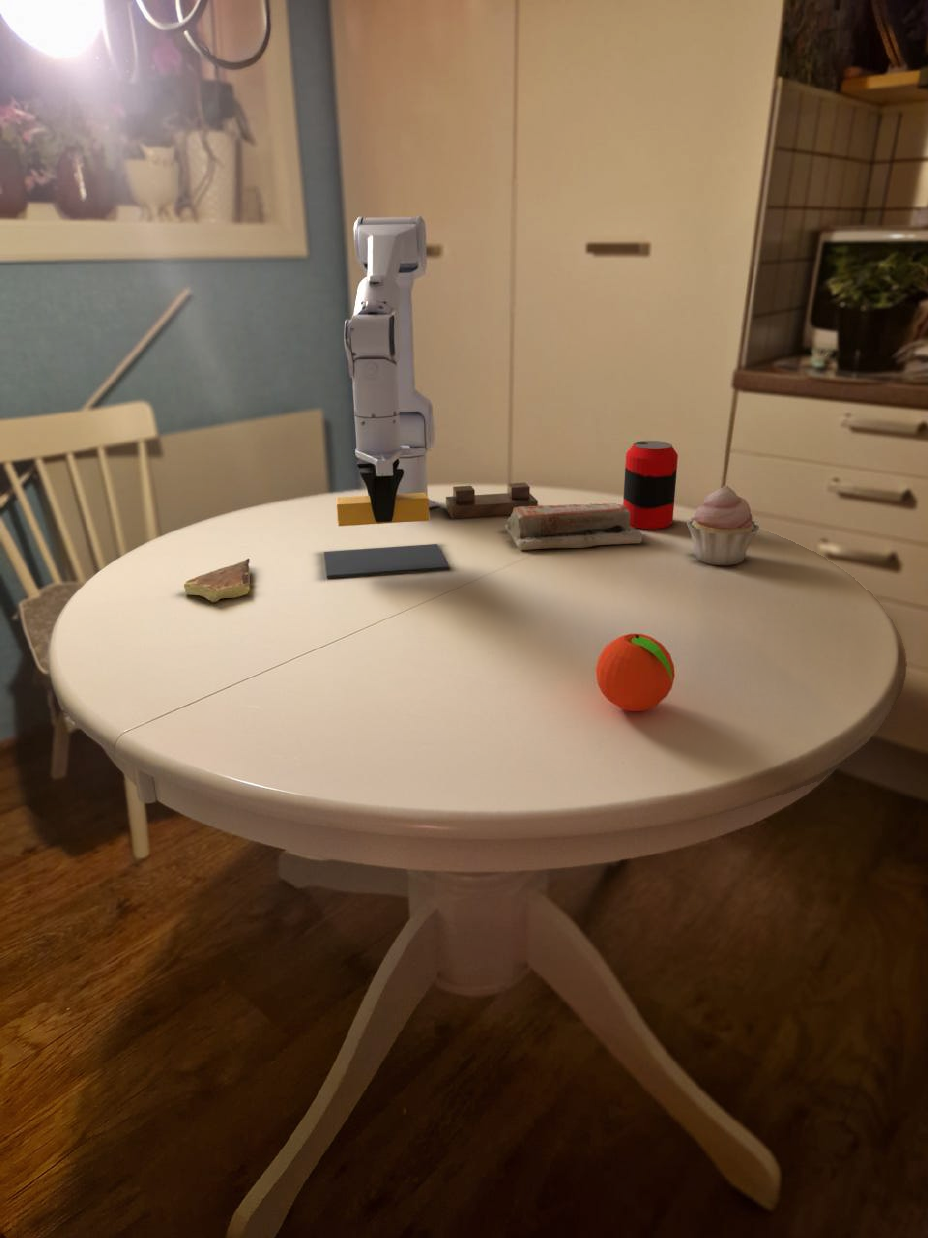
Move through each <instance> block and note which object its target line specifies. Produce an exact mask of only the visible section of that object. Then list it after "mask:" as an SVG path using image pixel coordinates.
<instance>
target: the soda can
mask: <svg viewBox="0 0 928 1238" xmlns="http://www.w3.org/2000/svg"><path fill="white" fill-rule="evenodd" d="M678 458H679V454H678V453H677V451H676V449H675V448H674V447H673V445H672V444H671V443H669V442H666V441H657V440H643V441H637V442H636V441H635V442H634V443H632V446H630V448H629V449H628V450H627V451H626V453H625V463H624V465H625V466H624V483H623V484H624V485H623V499H622V505H625V506H626V508H627V510H628V511H629V512H630V523H629V525H631V526H632V527H633V528H635V529H637V530H639V529H640V530H661V529H665V528H668V527H670V526H671V525H672V524H673V522H674V521H673V520H674V510H675V509H674V508H675V496H676V485H677V483H676V482H677V471H678V460H679V459H678Z"/></svg>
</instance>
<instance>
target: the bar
mask: <svg viewBox="0 0 928 1238" xmlns="http://www.w3.org/2000/svg"><path fill="white" fill-rule="evenodd" d="M429 500H430V499H429V496H428V497H427V495H426V493H410V494H396V500H395V507H394V514H393V518H392V521H391V522H379V523H377V522H376V520H375V517H374V514H373V510H372V505H371V500H370V496H369V495H362V496H361V495H360V496H346V497H345V496H344V497H336V498H335V503H336V504H335V505H336V518H337V519H336V520H337V524H338V527H353V526H368V525H383V524H396V523H399V524H400V523H414V522H428V521H430V508H429Z"/></svg>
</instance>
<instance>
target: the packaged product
mask: <svg viewBox="0 0 928 1238" xmlns="http://www.w3.org/2000/svg"><path fill="white" fill-rule="evenodd" d="M629 523H630V512H629V511H628V510H627V508H626V506H625V505H623V504H620V503H616V502H609V503H605V502H602V503H580V504H578V503H573V504H571V503H570V504H546V505H545V504H544V505H538V506H520V507H515V508H514V509H513V513H512V514H511V515H510V516H509V518H508V523H506V524H505V529H506V531H507V533H508V534H509V536H510V537H511V539H512V540H513V542H514V544H515V545H516V546H517V548H518V549H519V551H527V550H528V551H529V550H543V549H582V548H583V549H584V548H589V547H594V546H605V545H607V546H608V545H628V544H641V542H642V538H643V533H642V532H641V531H640V530H639V529H638V528H633V527H632V526H631V525H629Z"/></svg>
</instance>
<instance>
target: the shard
mask: <svg viewBox="0 0 928 1238" xmlns="http://www.w3.org/2000/svg"><path fill="white" fill-rule="evenodd" d="M250 561H251V560H250V558H247V559H245V560H243V561H242V560H241V561H238V562H237V563H234V564H231V565H227V566H225V567H221V568H218V569H216V570H213V571H209V572H207V573H204V574H201V575H199V576H196V577H194V578H191V579H189V580H187V581H186V582H185V583H184V584H183V588H184V592H185V594H186V595H189V596H200V597H203V598H205V599H206V600H208V601H210V602H212V603H215V602H218V601H220V599H230V598H233V599H234V598H239V597H241V596H245V595H248V594H249V592H250V590H251V585H250V582H251V579H250V576H251V568H250Z"/></svg>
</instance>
